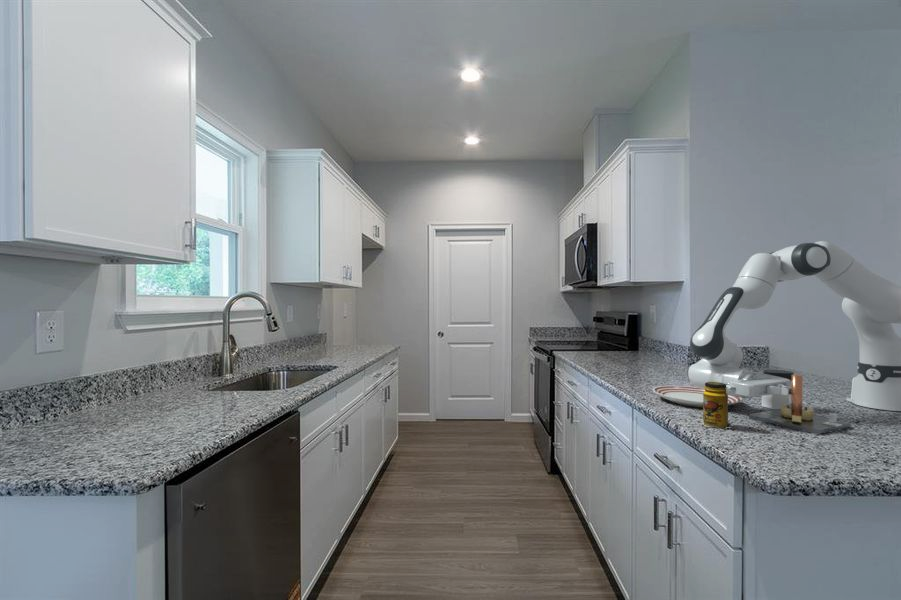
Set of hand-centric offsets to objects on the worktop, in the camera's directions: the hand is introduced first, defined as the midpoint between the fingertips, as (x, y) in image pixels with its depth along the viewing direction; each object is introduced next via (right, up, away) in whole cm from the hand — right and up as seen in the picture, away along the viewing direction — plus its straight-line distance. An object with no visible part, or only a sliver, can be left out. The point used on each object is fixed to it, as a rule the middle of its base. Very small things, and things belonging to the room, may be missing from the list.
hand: (791, 391), depth 126 cm
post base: (+5, -10, +4) cm, 12 cm away
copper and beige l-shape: (+4, -8, +3) cm, 10 cm away
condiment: (-20, -10, +2) cm, 22 cm away
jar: (+13, -10, +22) cm, 28 cm away
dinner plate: (-10, -10, +31) cm, 34 cm away
